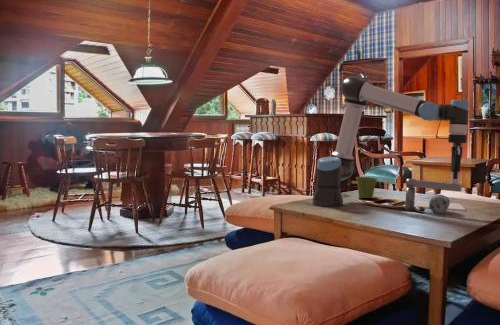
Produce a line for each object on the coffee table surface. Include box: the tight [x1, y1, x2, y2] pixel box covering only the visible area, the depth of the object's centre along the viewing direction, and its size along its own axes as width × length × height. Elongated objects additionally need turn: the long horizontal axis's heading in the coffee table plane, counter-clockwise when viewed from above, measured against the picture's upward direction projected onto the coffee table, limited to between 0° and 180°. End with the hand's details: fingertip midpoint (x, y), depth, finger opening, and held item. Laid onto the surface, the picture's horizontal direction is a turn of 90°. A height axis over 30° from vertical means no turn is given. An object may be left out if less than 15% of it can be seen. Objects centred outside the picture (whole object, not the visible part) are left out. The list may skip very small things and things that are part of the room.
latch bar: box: [405, 178, 463, 192], centre depth 209 cm, size 24×4×4 cm, turn 54°
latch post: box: [404, 186, 416, 212], centre depth 215 cm, size 4×4×11 cm
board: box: [414, 200, 466, 212], centre depth 227 cm, size 22×17×1 cm
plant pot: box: [355, 176, 379, 199], centre depth 248 cm, size 12×12×11 cm
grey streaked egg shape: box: [428, 194, 451, 215], centre depth 212 cm, size 14×10×10 cm
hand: (454, 185), depth 206 cm, fingers closed
